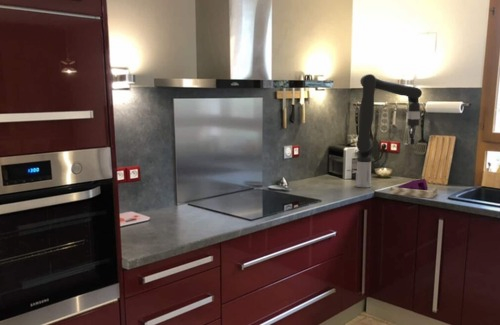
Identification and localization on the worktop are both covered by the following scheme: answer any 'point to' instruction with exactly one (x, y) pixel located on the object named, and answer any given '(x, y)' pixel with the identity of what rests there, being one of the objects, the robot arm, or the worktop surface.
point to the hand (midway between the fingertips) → (412, 144)
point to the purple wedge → (415, 185)
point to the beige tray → (414, 192)
